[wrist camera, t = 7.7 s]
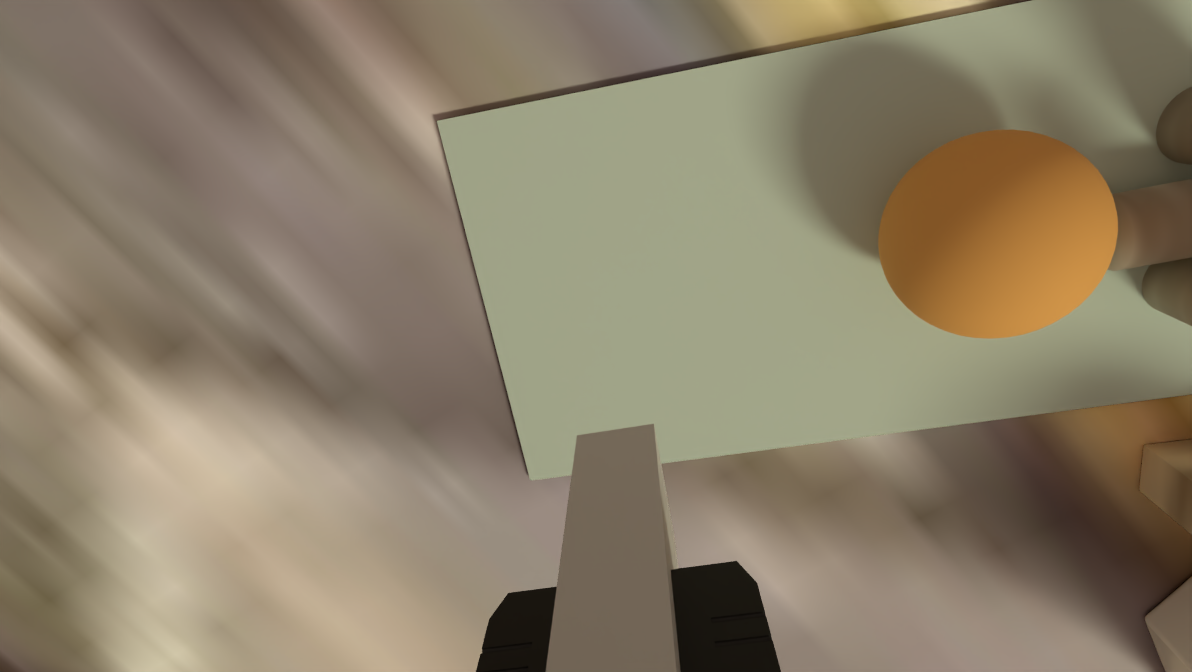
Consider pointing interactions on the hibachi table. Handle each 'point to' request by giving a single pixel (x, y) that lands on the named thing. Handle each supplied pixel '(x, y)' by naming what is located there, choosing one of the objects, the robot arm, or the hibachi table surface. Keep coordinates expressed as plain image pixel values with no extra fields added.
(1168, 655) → the jar
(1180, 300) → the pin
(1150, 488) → the backstop
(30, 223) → the hibachi table surface
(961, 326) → the ball
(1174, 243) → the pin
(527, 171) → the pale green board
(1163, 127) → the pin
